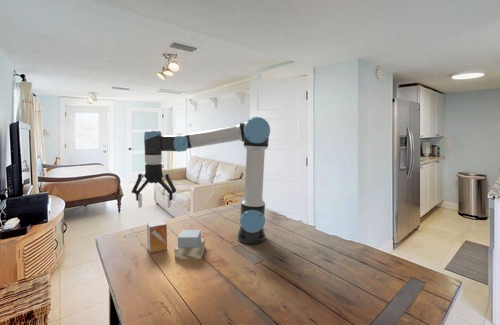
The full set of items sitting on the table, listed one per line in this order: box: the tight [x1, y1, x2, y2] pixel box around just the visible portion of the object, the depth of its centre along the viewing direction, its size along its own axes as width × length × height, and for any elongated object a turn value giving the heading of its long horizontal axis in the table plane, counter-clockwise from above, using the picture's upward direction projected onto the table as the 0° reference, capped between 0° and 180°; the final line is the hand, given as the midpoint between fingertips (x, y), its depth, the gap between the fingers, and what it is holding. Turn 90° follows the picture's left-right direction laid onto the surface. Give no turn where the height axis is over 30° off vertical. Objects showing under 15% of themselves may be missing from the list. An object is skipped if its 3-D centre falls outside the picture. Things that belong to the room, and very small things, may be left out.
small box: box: [146, 220, 168, 254], centre depth 126 cm, size 8×6×13 cm
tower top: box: [177, 229, 202, 248], centre depth 122 cm, size 9×9×5 cm
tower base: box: [174, 237, 206, 260], centre depth 123 cm, size 12×12×5 cm
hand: (154, 207), depth 124 cm, fingers open, 13 cm apart
